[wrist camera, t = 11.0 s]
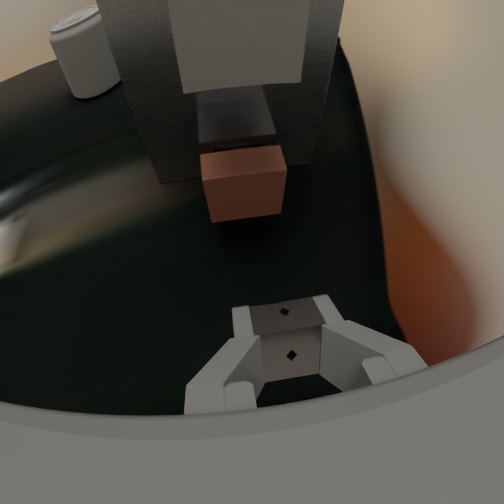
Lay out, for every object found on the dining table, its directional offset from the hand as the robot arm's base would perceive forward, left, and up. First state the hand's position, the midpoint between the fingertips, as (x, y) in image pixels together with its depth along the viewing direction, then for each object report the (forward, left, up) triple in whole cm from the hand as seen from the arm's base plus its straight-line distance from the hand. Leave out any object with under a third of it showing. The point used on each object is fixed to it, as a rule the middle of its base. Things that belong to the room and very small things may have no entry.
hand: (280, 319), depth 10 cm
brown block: (0, +12, -9) cm, 15 cm away
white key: (0, +12, +2) cm, 12 cm away
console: (0, +19, -12) cm, 23 cm away
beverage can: (-17, +37, -13) cm, 42 cm away
